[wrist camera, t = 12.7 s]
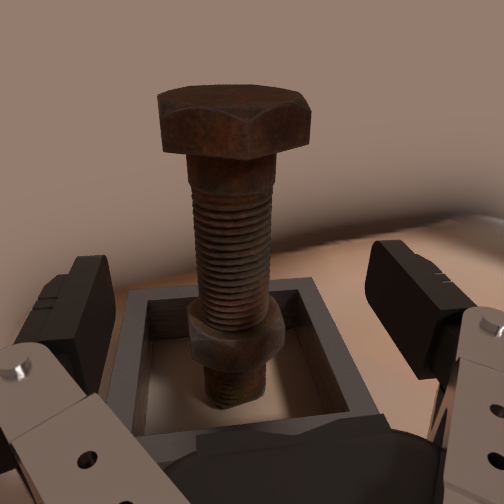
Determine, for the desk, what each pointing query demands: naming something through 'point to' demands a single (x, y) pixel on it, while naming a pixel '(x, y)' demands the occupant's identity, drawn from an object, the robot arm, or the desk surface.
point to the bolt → (233, 223)
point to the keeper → (176, 325)
